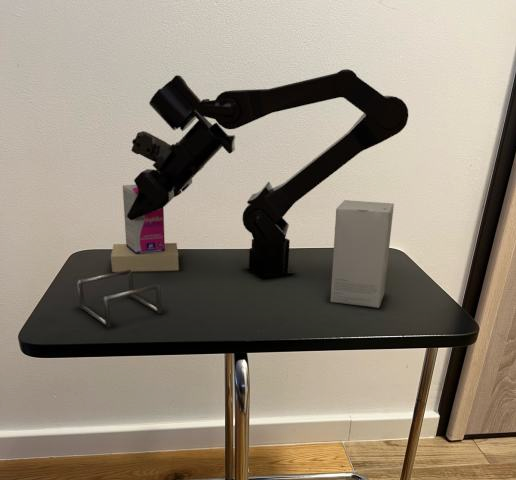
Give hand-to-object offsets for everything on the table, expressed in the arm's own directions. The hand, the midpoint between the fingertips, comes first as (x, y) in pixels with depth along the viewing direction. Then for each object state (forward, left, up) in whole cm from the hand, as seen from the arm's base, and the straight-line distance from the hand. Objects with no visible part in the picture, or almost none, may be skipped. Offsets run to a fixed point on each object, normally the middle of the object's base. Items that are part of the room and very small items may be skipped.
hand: (135, 213), depth 99 cm
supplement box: (-1, +1, -7) cm, 7 cm away
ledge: (-1, +1, -10) cm, 10 cm away
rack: (+10, +21, -10) cm, 25 cm away
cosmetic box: (-26, +33, -10) cm, 43 cm away
